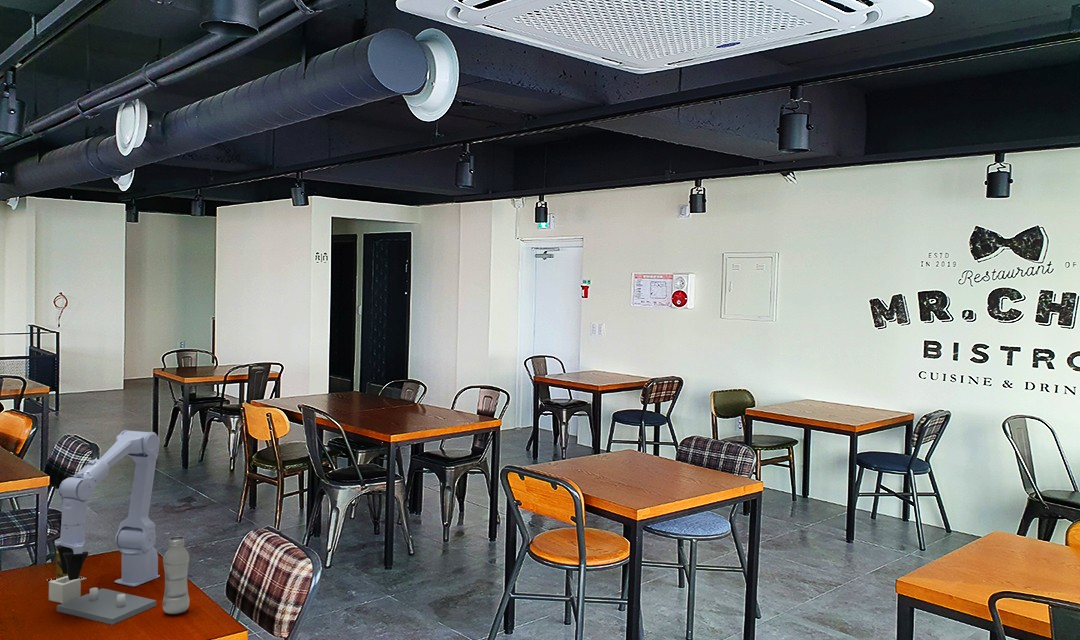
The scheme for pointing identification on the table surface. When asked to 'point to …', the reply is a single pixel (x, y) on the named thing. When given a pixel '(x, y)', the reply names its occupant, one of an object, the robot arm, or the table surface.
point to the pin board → (106, 606)
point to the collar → (64, 589)
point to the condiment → (59, 570)
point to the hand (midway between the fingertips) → (70, 575)
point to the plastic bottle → (176, 577)
